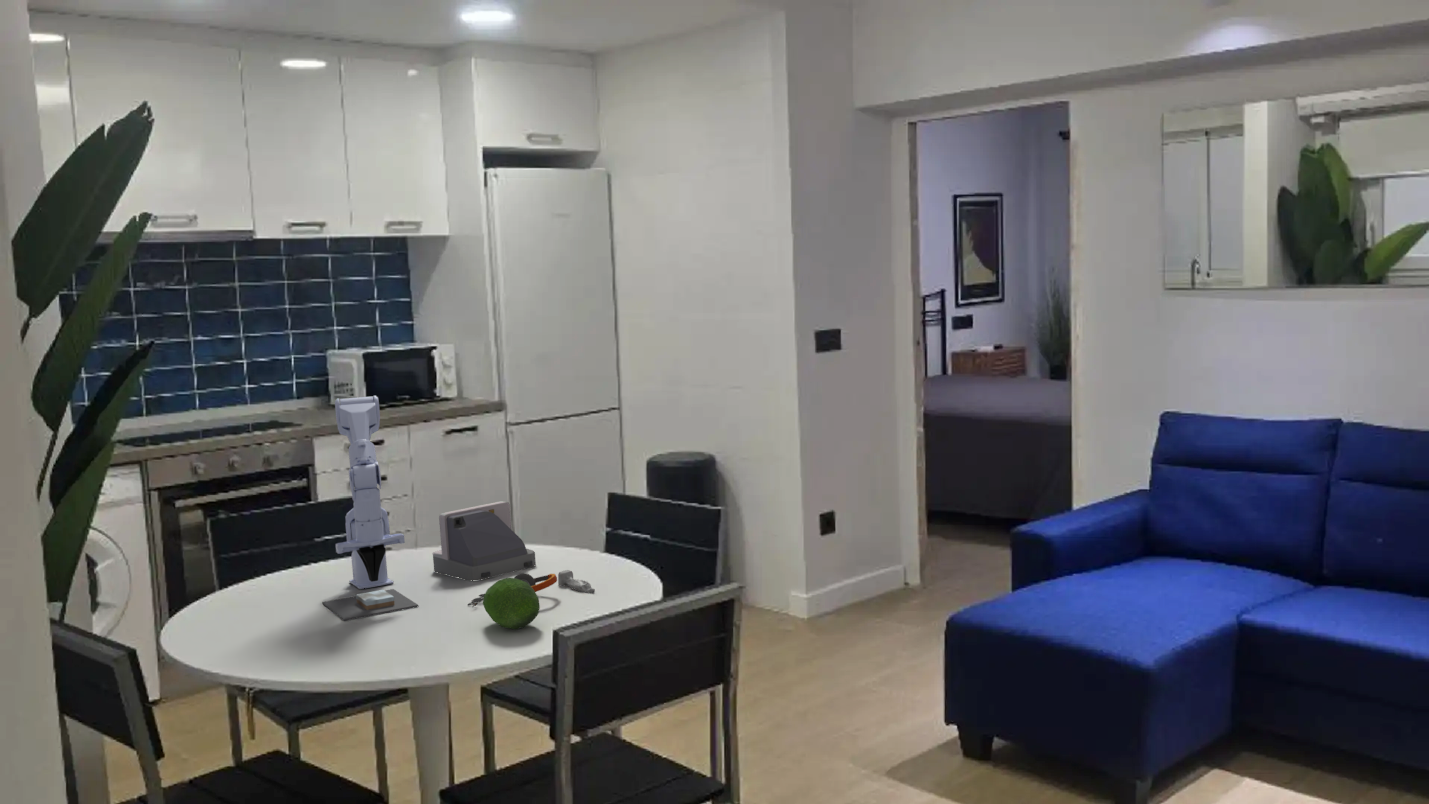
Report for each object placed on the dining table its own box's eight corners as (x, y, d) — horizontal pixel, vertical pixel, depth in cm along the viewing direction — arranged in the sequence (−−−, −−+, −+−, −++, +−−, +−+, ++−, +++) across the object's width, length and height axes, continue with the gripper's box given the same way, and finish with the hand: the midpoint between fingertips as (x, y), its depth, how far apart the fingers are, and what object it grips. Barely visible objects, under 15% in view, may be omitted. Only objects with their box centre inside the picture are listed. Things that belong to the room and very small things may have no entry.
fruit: (473, 623, 253) (469, 575, 252) (518, 613, 258) (514, 566, 257) (503, 639, 240) (499, 589, 239) (549, 628, 246) (546, 579, 245)
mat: (322, 603, 275) (322, 601, 275) (393, 590, 283) (393, 588, 283) (344, 620, 260) (344, 619, 260) (418, 606, 268) (418, 604, 268)
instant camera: (506, 555, 315) (502, 497, 313) (544, 568, 298) (540, 507, 296) (427, 570, 303) (422, 510, 301) (462, 585, 286) (457, 521, 284)
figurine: (570, 584, 282) (570, 569, 282) (599, 598, 273) (600, 583, 272) (557, 586, 280) (557, 571, 279) (586, 601, 271) (586, 585, 270)
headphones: (485, 577, 280) (565, 558, 275) (492, 600, 280) (571, 581, 275) (452, 598, 264) (535, 578, 258) (459, 622, 264) (543, 602, 259)
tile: (356, 594, 273) (383, 589, 276) (356, 602, 273) (383, 597, 276) (366, 601, 266) (393, 596, 269) (367, 609, 266) (394, 604, 269)
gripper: (339, 527, 262) (345, 589, 264) (406, 516, 270) (411, 577, 271) (331, 522, 268) (336, 583, 270) (396, 512, 276) (401, 572, 277)
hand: (373, 580), depth 271 cm, fingers closed
